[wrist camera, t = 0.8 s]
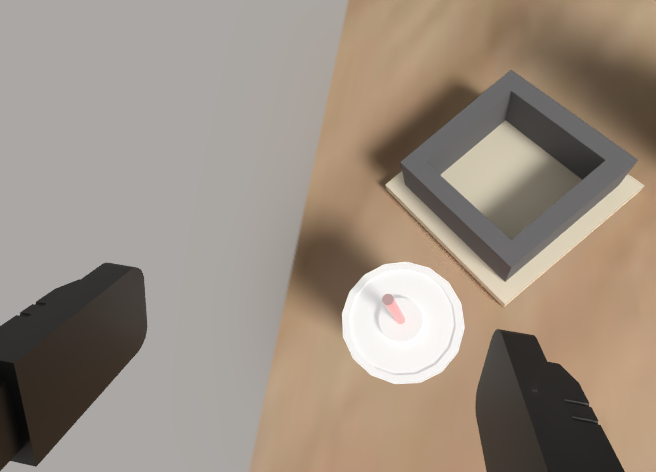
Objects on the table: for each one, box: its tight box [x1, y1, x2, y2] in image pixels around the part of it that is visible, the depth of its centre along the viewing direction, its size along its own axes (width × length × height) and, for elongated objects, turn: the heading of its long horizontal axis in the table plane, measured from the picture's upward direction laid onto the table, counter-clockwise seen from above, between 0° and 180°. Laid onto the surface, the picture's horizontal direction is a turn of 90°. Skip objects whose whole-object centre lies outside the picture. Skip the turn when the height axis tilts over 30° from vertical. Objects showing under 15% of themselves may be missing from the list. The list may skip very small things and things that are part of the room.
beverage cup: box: [342, 262, 465, 384], centre depth 25 cm, size 6×6×14 cm
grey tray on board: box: [386, 70, 644, 307], centre depth 31 cm, size 12×12×4 cm
